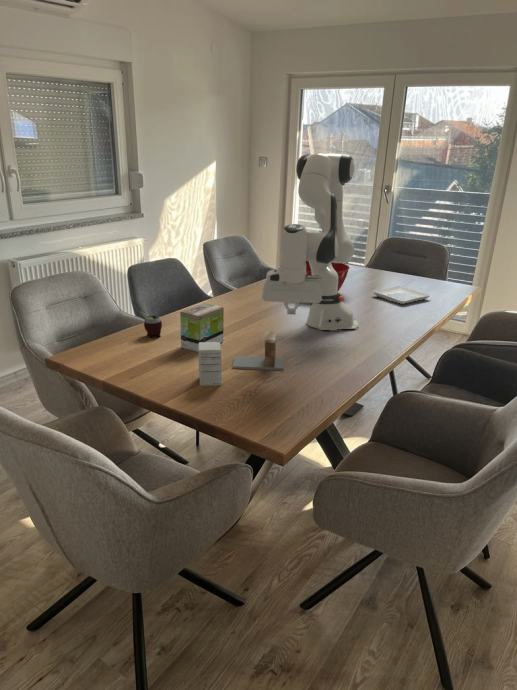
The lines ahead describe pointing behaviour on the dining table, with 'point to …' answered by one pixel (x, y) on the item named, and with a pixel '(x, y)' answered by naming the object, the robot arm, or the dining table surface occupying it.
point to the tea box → (201, 325)
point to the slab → (270, 349)
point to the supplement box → (210, 363)
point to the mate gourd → (153, 324)
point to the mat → (256, 363)
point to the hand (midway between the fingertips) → (291, 314)
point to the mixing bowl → (338, 267)
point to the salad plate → (400, 289)
